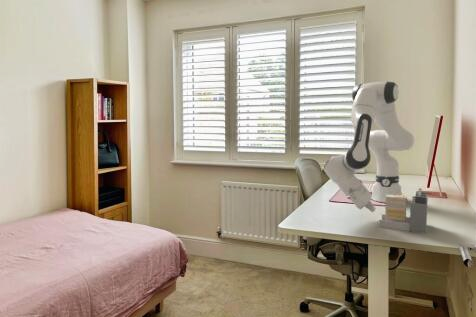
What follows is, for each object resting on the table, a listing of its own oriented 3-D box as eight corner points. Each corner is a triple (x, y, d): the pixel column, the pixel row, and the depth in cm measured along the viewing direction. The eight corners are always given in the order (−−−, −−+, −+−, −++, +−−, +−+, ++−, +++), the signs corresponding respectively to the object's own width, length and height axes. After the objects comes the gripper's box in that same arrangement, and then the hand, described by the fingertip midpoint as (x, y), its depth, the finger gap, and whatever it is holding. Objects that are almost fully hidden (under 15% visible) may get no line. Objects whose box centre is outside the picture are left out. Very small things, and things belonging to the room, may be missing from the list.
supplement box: (406, 225, 162) (407, 195, 161) (405, 228, 158) (406, 197, 156) (385, 222, 166) (386, 193, 164) (384, 225, 162) (385, 196, 160)
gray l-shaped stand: (382, 219, 171) (383, 184, 169) (426, 224, 163) (428, 188, 161) (378, 227, 159) (379, 190, 157) (425, 233, 150) (427, 194, 148)
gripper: (353, 186, 158) (376, 211, 155) (360, 179, 176) (382, 201, 173) (342, 196, 161) (365, 221, 157) (350, 187, 179) (371, 209, 175)
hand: (374, 210), depth 165 cm, fingers closed
